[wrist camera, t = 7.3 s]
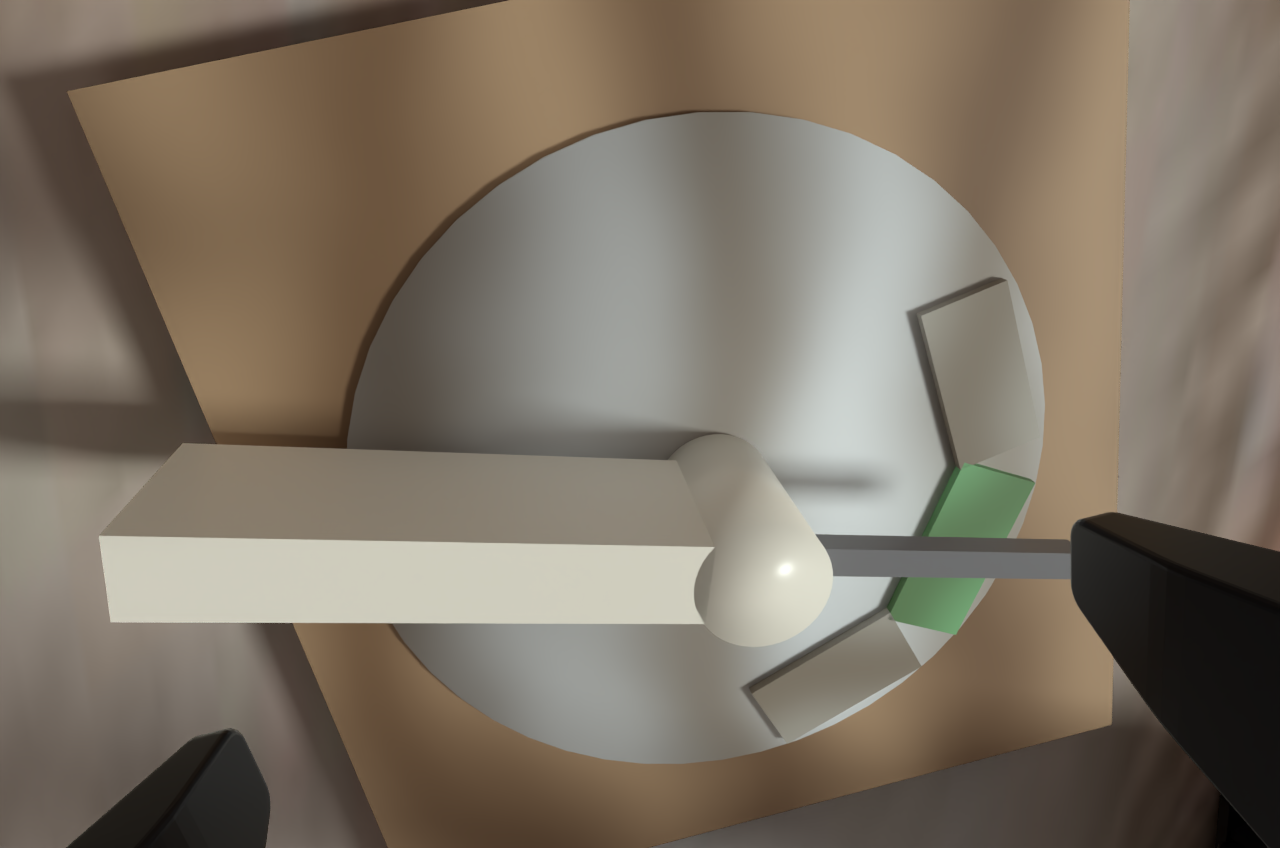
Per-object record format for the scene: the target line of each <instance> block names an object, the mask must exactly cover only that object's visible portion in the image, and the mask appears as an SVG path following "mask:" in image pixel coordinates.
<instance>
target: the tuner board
mask: <svg viewBox="0 0 1280 848" xmlns="http://www.w3.org/2000/svg"><path fill="white" fill-rule="evenodd" d="M1129 6H1130V0H508V1H503V2H498V3H493V4H489V5H484V6H479V7H474V8H469V9H464V10H459V11H455V12H450V13H445V14H440V15H435V16H430V17H425V18H421V19H416V20H411V21H406V22H401V23H396V24H391V25H387V26H382V27H377V28H372V29H367V30H362V31H357V32H353V33H348V34H343V35H338V36H333V37H328V38H323V39H319V40H314V41H309V42H304V43H299V44H294V45H289V46H285V47H280V48H275V49H270V50H265V51H260V52H255V53H251V54H246V55H241V56H236V57H231V58H226V59H221V60H217V61H212V62H207V63H202V64H197V65H192V66H187V67H183V68H178V69H173V70H168V71H163V72H158V73H153V74H149V75H144V76H139V77H134V78H129V79H124V80H119V81H115V82H110V83H105V84H100V85H95V86H90V87H85V88H81V89H76V90H71V91H67V93H68V96H69V98H70V100H71V103H72V105H73V107H74V110H75V112H76V114H77V117H78V119H79V121H80V124H81V126H82V128H83V131H84V133H85V136H86V138H87V140H88V143H89V145H90V147H91V150H92V152H93V154H94V157H95V159H96V161H97V164H98V166H99V169H100V171H101V173H102V176H103V178H104V180H105V183H106V185H107V187H108V190H109V192H110V194H111V197H112V199H113V202H114V204H115V206H116V209H117V211H118V213H119V216H120V218H121V220H122V223H123V225H124V227H125V230H126V232H127V235H128V237H129V239H130V242H131V244H132V246H133V249H134V251H135V253H136V256H137V258H138V260H139V263H140V265H141V267H142V270H143V272H144V275H145V277H146V279H147V282H148V284H149V286H150V289H151V291H152V293H153V296H154V298H155V300H156V303H157V305H158V308H159V310H160V312H161V315H162V317H163V319H164V322H165V324H166V326H167V329H168V331H169V333H170V336H171V338H172V341H173V343H174V345H175V348H176V350H177V352H178V355H179V357H180V359H181V362H182V364H183V366H184V369H185V371H186V373H187V376H188V378H189V381H190V383H191V385H192V388H193V390H194V392H195V395H196V397H197V399H198V402H199V404H200V406H201V409H202V411H203V414H204V416H205V418H206V421H207V423H208V425H209V428H210V430H211V432H212V435H213V437H214V439H215V442H216V444H223V445H251V446H279V447H308V448H336V449H365V450H393V451H422V452H450V453H479V454H507V455H535V456H564V457H592V458H621V459H649V460H668V459H669V457H670V456H671V455H672V454H673V453H674V452H675V451H676V450H677V449H678V448H680V447H681V446H682V445H684V444H685V443H687V442H689V441H691V440H693V439H696V438H698V437H702V436H705V435H712V434H725V435H731V436H736V437H738V438H741V439H743V440H745V441H747V442H748V443H750V444H751V445H752V446H754V447H755V448H756V449H757V450H758V451H759V453H760V454H761V455H762V457H763V458H764V460H765V461H766V463H767V464H768V466H769V467H770V469H771V470H772V471H773V473H774V474H775V476H776V477H777V479H778V480H779V482H780V483H781V485H782V486H783V488H784V489H785V491H786V492H787V494H788V495H789V496H790V498H791V499H792V501H793V502H794V504H795V505H796V507H797V508H798V510H799V511H800V513H801V514H802V516H803V517H804V519H805V520H806V521H807V523H808V524H809V526H810V527H811V529H812V530H813V532H814V533H815V534H832V535H879V536H926V537H973V538H1020V539H1067V540H1069V541H1070V535H1071V529H1072V526H1073V524H1074V523H1075V522H1076V521H1077V520H1079V519H1083V518H1087V517H1091V516H1095V515H1099V514H1103V513H1106V512H1117V490H1118V450H1119V410H1120V369H1121V329H1122V289H1123V248H1124V208H1125V168H1126V127H1127V87H1128V47H1129ZM293 626H294V628H295V630H296V633H297V635H298V637H299V640H300V642H301V644H302V647H303V649H304V651H305V654H306V656H307V659H308V661H309V663H310V666H311V668H312V670H313V673H314V675H315V677H316V680H317V682H318V684H319V687H320V689H321V692H322V694H323V696H324V699H325V701H326V703H327V706H328V708H329V710H330V713H331V715H332V717H333V720H334V722H335V725H336V727H337V729H338V732H339V734H340V736H341V739H342V741H343V743H344V746H345V748H346V750H347V753H348V755H349V758H350V760H351V762H352V765H353V767H354V769H355V772H356V774H357V776H358V779H359V781H360V783H361V786H362V788H363V790H364V793H365V795H366V798H367V800H368V802H369V805H370V807H371V809H372V812H373V814H374V816H375V819H376V821H377V823H378V826H379V828H380V831H381V833H382V835H383V838H384V840H385V842H386V845H387V847H388V848H649V847H653V846H657V845H661V844H664V843H668V842H672V841H676V840H679V839H683V838H687V837H691V836H694V835H698V834H702V833H706V832H710V831H713V830H717V829H721V828H725V827H728V826H732V825H736V824H740V823H743V822H747V821H751V820H755V819H758V818H762V817H766V816H770V815H774V814H777V813H781V812H785V811H789V810H792V809H796V808H800V807H804V806H807V805H811V804H815V803H819V802H823V801H826V800H830V799H834V798H838V797H841V796H845V795H849V794H853V793H856V792H860V791H864V790H868V789H871V788H875V787H879V786H883V785H887V784H890V783H894V782H898V781H902V780H905V779H909V778H913V777H917V776H920V775H924V774H928V773H932V772H936V771H939V770H943V769H947V768H951V767H954V766H958V765H962V764H966V763H969V762H973V761H977V760H981V759H984V758H988V757H992V756H996V755H1000V754H1003V753H1007V752H1011V751H1015V750H1018V749H1022V748H1026V747H1030V746H1033V745H1037V744H1041V743H1045V742H1048V741H1052V740H1056V739H1060V738H1064V737H1067V736H1071V735H1075V734H1079V733H1082V732H1086V731H1090V730H1094V729H1097V728H1101V727H1105V726H1109V725H1112V692H1113V656H1112V654H1111V653H1110V652H1109V650H1108V649H1107V647H1106V646H1105V645H1104V643H1103V642H1102V640H1101V639H1100V637H1099V636H1098V635H1097V633H1096V632H1095V630H1094V629H1093V627H1092V626H1091V625H1090V623H1089V622H1088V620H1087V619H1086V617H1085V616H1084V615H1083V613H1082V612H1081V610H1080V609H1079V607H1078V606H1077V603H1076V601H1075V599H1074V596H1073V594H1072V589H1071V579H1003V578H925V577H847V576H833V583H832V589H831V593H830V596H829V598H828V601H827V603H826V605H825V607H824V608H823V610H822V612H821V613H820V614H819V616H818V617H817V618H816V619H815V620H814V621H813V622H812V623H811V624H810V625H809V626H808V627H807V628H806V629H804V630H803V631H802V632H800V633H799V634H797V635H795V636H793V637H792V638H790V639H788V640H785V641H783V642H780V643H777V644H773V645H768V646H763V647H745V646H739V645H735V644H732V643H728V642H726V641H724V640H722V639H720V638H719V637H717V636H715V635H714V634H713V633H712V632H711V631H709V630H708V629H707V627H706V626H705V625H704V624H495V623H293Z"/></svg>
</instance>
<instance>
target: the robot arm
mask: <svg viewBox="0 0 1280 848" xmlns="http://www.w3.org/2000/svg"><path fill="white" fill-rule="evenodd" d="M1070 548H1071V589H1072V594H1073V596H1074V599H1075V601H1076V603H1077V606H1078V607H1079V609H1080V610H1081V612H1082V613H1083V615H1084V616H1085V617H1086V619H1087V620H1088V622H1089V623H1090V625H1091V626H1092V627H1093V629H1094V630H1095V632H1096V633H1097V635H1098V636H1099V637H1100V639H1101V640H1102V642H1103V643H1104V645H1105V646H1106V647H1107V649H1108V650H1109V652H1110V653H1111V654H1112V656H1113V657H1114V659H1115V660H1116V662H1117V663H1118V664H1119V666H1120V667H1121V669H1122V670H1123V672H1124V673H1125V674H1126V676H1127V677H1128V679H1129V680H1130V681H1131V683H1132V684H1133V686H1134V687H1135V689H1136V690H1137V691H1138V693H1139V694H1140V696H1141V697H1142V699H1143V700H1144V701H1145V703H1146V704H1147V706H1148V707H1149V708H1150V710H1151V711H1152V712H1153V714H1154V715H1155V716H1156V718H1157V719H1158V720H1159V722H1160V723H1161V724H1162V725H1163V726H1164V728H1165V729H1166V730H1167V731H1168V732H1169V734H1170V735H1171V736H1172V737H1173V738H1174V740H1175V741H1176V742H1177V743H1178V744H1179V746H1180V747H1181V748H1182V749H1183V750H1184V751H1185V752H1186V754H1187V755H1188V756H1189V757H1190V758H1191V759H1192V761H1193V762H1194V763H1195V764H1196V765H1197V766H1198V767H1199V769H1200V770H1201V771H1202V772H1203V773H1204V774H1205V776H1206V777H1207V778H1208V779H1209V780H1210V781H1211V782H1212V784H1213V785H1214V786H1215V787H1216V788H1217V789H1218V791H1219V792H1220V793H1221V795H1220V801H1219V812H1218V823H1217V834H1216V845H1215V848H1280V552H1279V551H1275V550H1271V549H1266V548H1262V547H1258V546H1254V545H1250V544H1246V543H1242V542H1237V541H1233V540H1229V539H1225V538H1221V537H1217V536H1212V535H1208V534H1204V533H1200V532H1196V531H1192V530H1188V529H1183V528H1179V527H1175V526H1171V525H1167V524H1163V523H1158V522H1154V521H1150V520H1146V519H1142V518H1138V517H1133V516H1129V515H1125V514H1121V513H1117V512H1106V513H1103V514H1099V515H1095V516H1091V517H1087V518H1083V519H1079V520H1077V521H1076V522H1075V523H1074V524H1073V526H1072V529H1071V535H1070ZM269 816H270V796H269V791H268V788H267V785H266V783H265V781H264V778H263V776H262V774H261V772H260V770H259V768H258V766H257V764H256V762H255V760H254V757H253V755H252V753H251V751H250V749H249V747H248V745H247V743H246V741H245V739H244V737H243V736H242V734H241V733H240V732H239V731H237V730H235V729H232V728H229V729H225V730H220V731H216V732H212V733H208V734H204V735H200V736H197V737H195V738H192V739H191V740H190V741H188V742H187V743H186V744H185V745H184V746H183V747H181V748H180V749H179V750H178V751H177V752H176V753H175V754H173V755H172V756H171V757H170V758H169V759H168V760H167V761H165V762H164V763H163V764H162V765H161V766H160V767H158V768H157V769H156V770H155V771H154V772H153V773H152V774H150V775H149V776H148V777H147V778H146V779H145V780H144V781H142V782H141V783H140V784H139V785H138V786H137V787H135V788H134V789H133V790H132V791H131V792H130V793H129V794H127V795H126V796H125V797H124V798H123V799H122V800H120V801H119V802H118V803H117V804H116V805H115V806H114V807H112V808H111V809H110V810H109V811H108V812H107V813H106V814H104V815H103V816H102V817H101V818H100V819H99V820H97V821H96V822H95V823H94V824H93V825H92V826H91V827H89V828H88V829H87V830H86V831H85V832H84V833H83V834H81V835H80V836H79V837H78V838H77V839H76V840H74V841H73V842H72V843H71V844H70V845H69V846H68V847H66V848H265V846H266V839H267V831H268V824H269Z"/></svg>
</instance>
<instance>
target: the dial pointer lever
mask: <svg viewBox="0 0 1280 848" xmlns="http://www.w3.org/2000/svg"><path fill="white" fill-rule="evenodd" d="M99 541H100V548H101V555H102V562H103V570H104V577H105V584H106V592H107V599H108V606H109V613H110V621H111V622H165V623H495V624H704V625H705V626H706V627H707V629H708V630H709V631H711V632H712V633H713V634H714V635H715V636H717V637H719V638H720V639H722V640H724V641H726V642H728V643H732V644H735V645H739V646H745V647H763V646H768V645H773V644H777V643H780V642H783V641H785V640H788V639H790V638H792V637H793V636H795V635H797V634H799V633H800V632H802V631H803V630H804V629H806V628H807V627H808V626H809V625H810V624H811V623H812V622H813V621H814V620H815V619H816V618H817V617H818V616H819V614H820V613H821V612H822V610H823V608H824V607H825V605H826V603H827V601H828V598H829V596H830V593H831V589H832V583H833V576H847V577H925V578H1003V579H1071V548H1070V541H1069V540H1067V539H1020V538H973V537H926V536H879V535H832V534H815V533H814V532H813V530H812V529H811V527H810V526H809V524H808V523H807V521H806V520H805V519H804V517H803V516H802V514H801V513H800V511H799V510H798V508H797V507H796V505H795V504H794V502H793V501H792V499H791V498H790V496H789V495H788V494H787V492H786V491H785V489H784V488H783V486H782V485H781V483H780V482H779V480H778V479H777V477H776V476H775V474H774V473H773V471H772V470H771V469H770V467H769V466H768V464H767V463H766V461H765V460H764V458H763V457H762V455H761V454H760V453H759V451H758V450H757V449H756V448H755V447H754V446H752V445H751V444H750V443H748V442H747V441H745V440H743V439H741V438H738V437H736V436H731V435H725V434H712V435H705V436H702V437H698V438H696V439H693V440H691V441H689V442H687V443H685V444H684V445H682V446H681V447H680V448H678V449H677V450H676V451H675V452H674V453H673V454H672V455H671V456H670V457H669V459H668V460H649V459H621V458H592V457H564V456H535V455H507V454H479V453H450V452H422V451H393V450H365V449H336V448H308V447H279V446H251V445H223V444H194V443H182V444H181V446H180V447H179V448H178V449H177V450H176V451H175V452H174V453H173V454H172V455H171V457H170V458H169V459H168V460H167V461H166V462H165V463H164V464H163V465H162V467H161V468H160V469H159V470H158V471H157V472H156V473H155V474H154V475H153V476H152V478H151V479H150V480H149V481H148V482H147V483H146V484H145V485H144V486H143V488H142V489H141V490H140V491H139V492H138V493H137V494H136V495H135V496H134V497H133V499H132V500H131V501H130V502H129V503H128V504H127V505H126V506H125V507H124V509H123V510H122V511H121V512H120V513H119V514H118V515H117V516H116V517H115V518H114V520H113V521H112V522H111V523H110V524H109V525H108V526H107V527H106V528H105V530H104V531H103V532H102V533H101V534H100V535H99Z"/></svg>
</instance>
